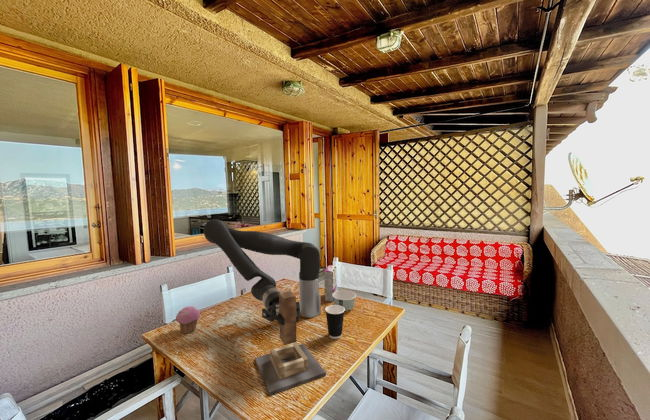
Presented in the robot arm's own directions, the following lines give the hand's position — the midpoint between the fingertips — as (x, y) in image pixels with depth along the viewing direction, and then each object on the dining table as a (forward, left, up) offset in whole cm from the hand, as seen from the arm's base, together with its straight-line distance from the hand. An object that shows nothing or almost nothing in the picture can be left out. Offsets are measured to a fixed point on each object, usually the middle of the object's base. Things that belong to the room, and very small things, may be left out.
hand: (290, 320), depth 85 cm
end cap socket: (0, -3, -17) cm, 17 cm away
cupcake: (+29, -45, -17) cm, 56 cm away
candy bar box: (-40, -48, -17) cm, 65 cm away
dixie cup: (-23, -13, -17) cm, 32 cm away
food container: (-40, -34, -17) cm, 55 cm away
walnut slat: (0, -3, -7) cm, 8 cm away
